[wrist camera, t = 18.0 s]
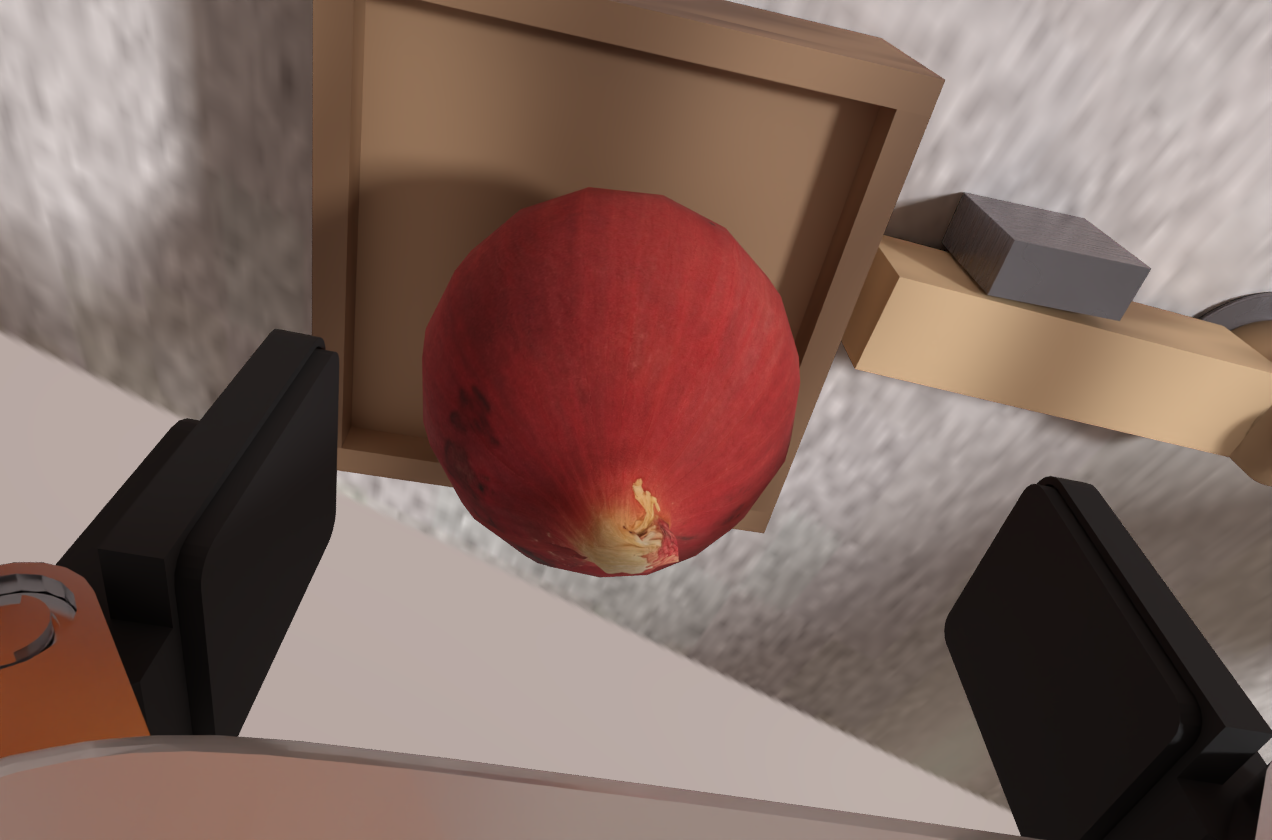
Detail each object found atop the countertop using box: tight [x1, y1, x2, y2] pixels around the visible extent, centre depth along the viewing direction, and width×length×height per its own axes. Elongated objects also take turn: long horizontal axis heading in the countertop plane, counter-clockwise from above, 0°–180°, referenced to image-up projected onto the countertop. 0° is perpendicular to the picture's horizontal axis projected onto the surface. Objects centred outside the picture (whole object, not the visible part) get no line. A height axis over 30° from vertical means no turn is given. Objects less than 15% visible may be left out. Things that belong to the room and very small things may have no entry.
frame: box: [942, 192, 1272, 331], centre depth 19 cm, size 11×5×4 cm, turn 78°
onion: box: [422, 187, 800, 577], centre depth 13 cm, size 6×6×8 cm
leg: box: [841, 235, 1272, 486], centre depth 19 cm, size 13×3×2 cm, turn 74°
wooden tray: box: [312, 0, 945, 533], centre depth 17 cm, size 10×10×4 cm
